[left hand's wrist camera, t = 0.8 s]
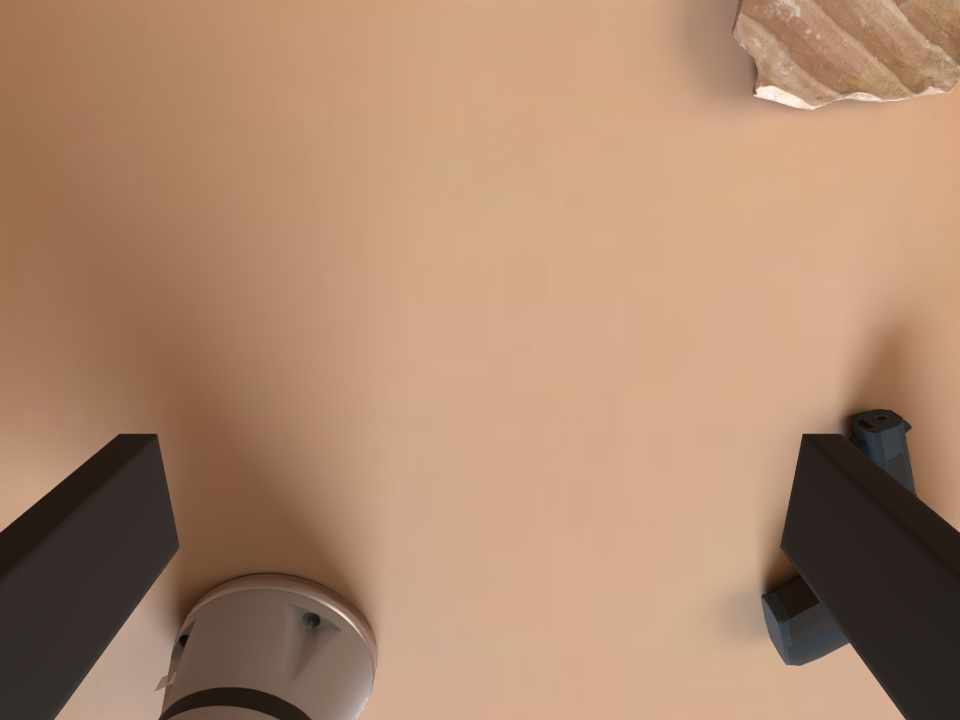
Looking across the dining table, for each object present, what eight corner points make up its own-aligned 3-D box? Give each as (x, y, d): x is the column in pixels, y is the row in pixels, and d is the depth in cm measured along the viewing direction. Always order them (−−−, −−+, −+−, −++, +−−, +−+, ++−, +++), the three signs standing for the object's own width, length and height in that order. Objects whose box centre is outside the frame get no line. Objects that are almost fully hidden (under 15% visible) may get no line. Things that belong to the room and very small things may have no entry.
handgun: (718, 456, 43) (891, 400, 42) (770, 643, 48) (927, 599, 47) (735, 479, 40) (923, 420, 39) (790, 676, 45) (957, 630, 44)
